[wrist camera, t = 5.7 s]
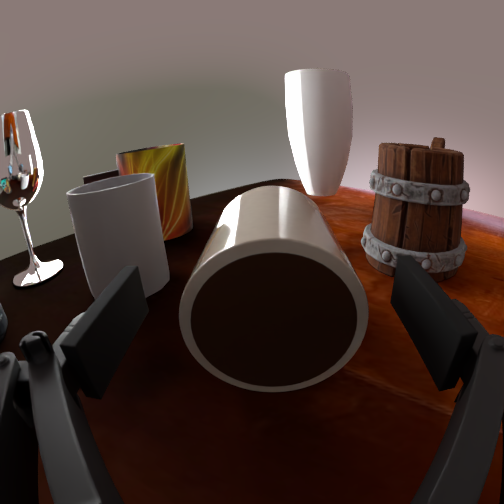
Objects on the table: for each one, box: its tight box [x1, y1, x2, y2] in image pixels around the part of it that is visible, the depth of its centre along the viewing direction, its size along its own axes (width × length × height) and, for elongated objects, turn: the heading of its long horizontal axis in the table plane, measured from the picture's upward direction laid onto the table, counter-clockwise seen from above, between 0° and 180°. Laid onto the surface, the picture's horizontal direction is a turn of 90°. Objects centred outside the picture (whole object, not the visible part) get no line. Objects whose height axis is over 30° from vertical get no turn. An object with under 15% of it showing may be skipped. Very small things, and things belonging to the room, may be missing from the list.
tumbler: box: [179, 186, 369, 392], centre depth 19 cm, size 11×9×9 cm
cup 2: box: [285, 69, 353, 196], centre depth 44 cm, size 10×10×22 cm
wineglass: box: [0, 110, 63, 287], centre depth 28 cm, size 8×8×20 cm
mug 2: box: [361, 137, 470, 282], centre depth 28 cm, size 12×14×15 cm
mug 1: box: [83, 144, 193, 241], centre depth 40 cm, size 10×14×12 cm
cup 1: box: [67, 173, 170, 300], centre depth 27 cm, size 8×8×10 cm
